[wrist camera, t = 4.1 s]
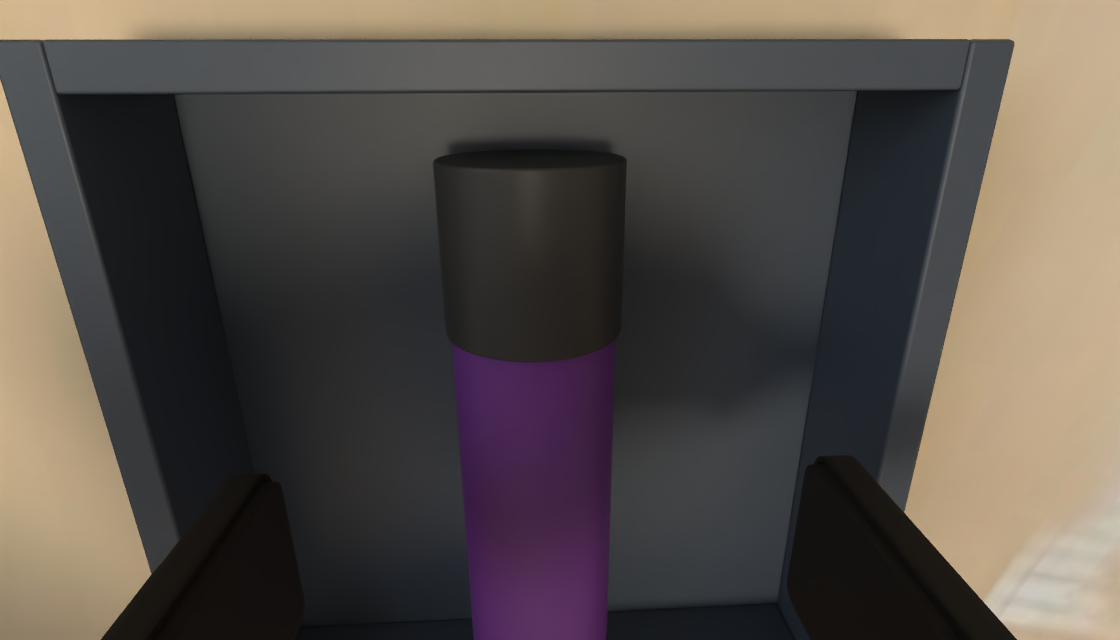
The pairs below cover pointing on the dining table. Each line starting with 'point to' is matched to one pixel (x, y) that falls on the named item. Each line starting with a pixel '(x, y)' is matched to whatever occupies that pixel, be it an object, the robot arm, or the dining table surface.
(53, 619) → the dining table surface
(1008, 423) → the dining table surface
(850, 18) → the dining table surface
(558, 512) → the marker
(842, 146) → the bin
